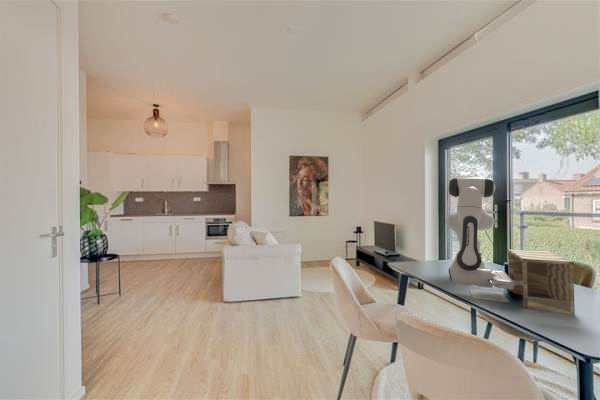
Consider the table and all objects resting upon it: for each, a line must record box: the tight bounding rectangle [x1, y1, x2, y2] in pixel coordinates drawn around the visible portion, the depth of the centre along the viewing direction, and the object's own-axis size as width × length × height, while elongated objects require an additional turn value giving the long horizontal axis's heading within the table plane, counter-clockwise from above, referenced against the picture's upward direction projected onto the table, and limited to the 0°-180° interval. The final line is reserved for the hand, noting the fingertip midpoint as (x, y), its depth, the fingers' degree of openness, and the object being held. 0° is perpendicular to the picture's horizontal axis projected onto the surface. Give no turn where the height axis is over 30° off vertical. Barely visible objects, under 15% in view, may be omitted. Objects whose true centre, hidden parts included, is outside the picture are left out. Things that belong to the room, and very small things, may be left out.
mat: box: [469, 288, 510, 303], centre depth 135 cm, size 14×14×1 cm
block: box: [511, 270, 528, 296], centre depth 130 cm, size 5×5×10 cm
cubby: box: [507, 248, 576, 315], centre depth 127 cm, size 26×16×21 cm, turn 154°
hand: (521, 281), depth 129 cm, fingers closed on block, 5 cm apart
